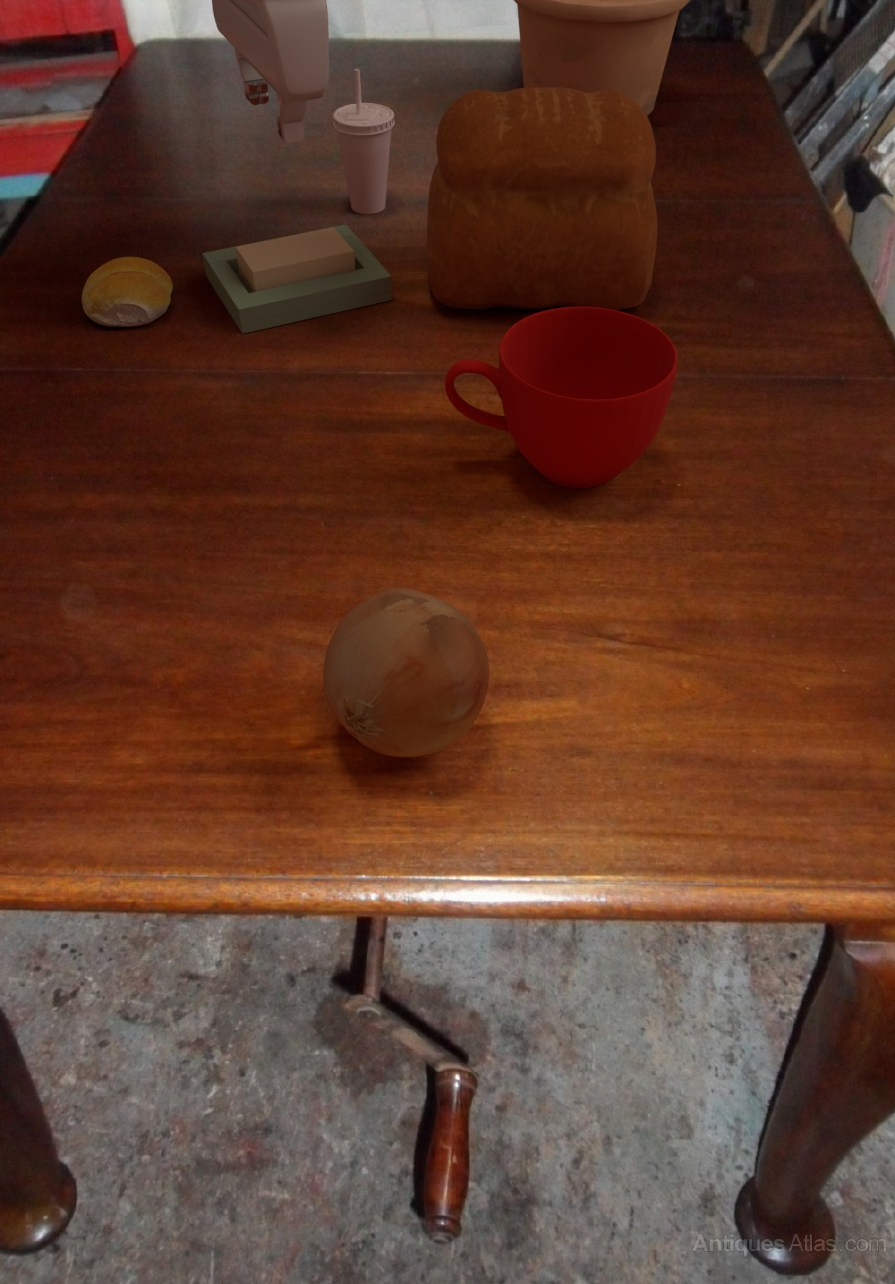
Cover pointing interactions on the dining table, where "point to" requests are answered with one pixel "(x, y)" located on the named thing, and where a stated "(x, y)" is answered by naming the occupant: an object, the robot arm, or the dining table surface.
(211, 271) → the base pad
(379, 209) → the smoothie
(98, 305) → the bread roll
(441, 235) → the bread
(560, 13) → the pottery
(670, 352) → the ceramic cup
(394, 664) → the mottled brown ball
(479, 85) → the dining table surface
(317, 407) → the dining table surface
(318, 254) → the cream pad
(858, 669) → the dining table surface
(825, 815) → the dining table surface
